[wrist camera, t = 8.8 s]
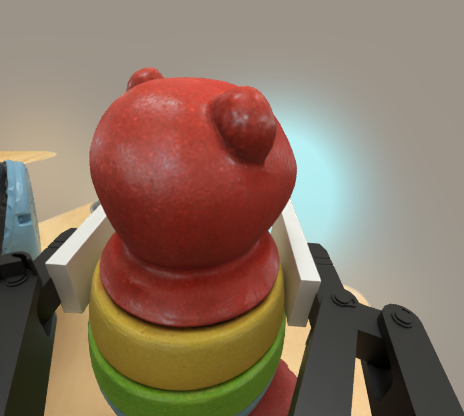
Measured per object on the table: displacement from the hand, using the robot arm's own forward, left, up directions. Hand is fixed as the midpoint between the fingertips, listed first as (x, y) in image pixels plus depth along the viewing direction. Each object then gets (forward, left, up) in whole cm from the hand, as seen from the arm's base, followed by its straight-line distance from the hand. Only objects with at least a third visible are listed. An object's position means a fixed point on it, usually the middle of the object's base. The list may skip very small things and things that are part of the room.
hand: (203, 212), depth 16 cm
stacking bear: (+2, -4, -10) cm, 11 cm away
